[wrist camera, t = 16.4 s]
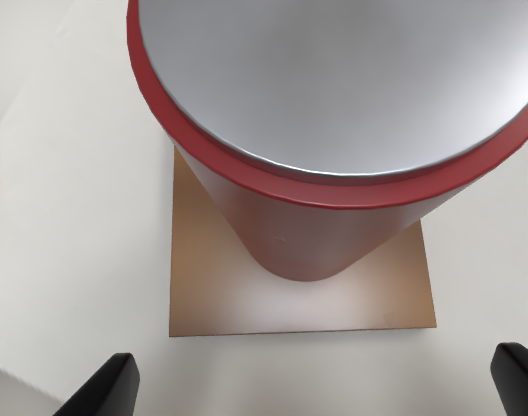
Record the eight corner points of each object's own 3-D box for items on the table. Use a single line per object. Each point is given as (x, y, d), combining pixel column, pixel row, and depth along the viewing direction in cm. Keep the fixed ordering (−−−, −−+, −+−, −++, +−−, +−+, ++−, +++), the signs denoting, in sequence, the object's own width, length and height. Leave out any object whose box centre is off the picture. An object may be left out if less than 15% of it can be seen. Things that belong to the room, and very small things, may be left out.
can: (386, 267, 17) (694, 140, 4) (250, 293, 17) (138, 252, 4) (351, 142, 19) (492, -219, 6) (228, 167, 19) (100, -137, 6)
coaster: (430, 326, 17) (437, 327, 16) (173, 335, 18) (168, 337, 17) (396, 96, 20) (400, 87, 19) (179, 110, 21) (175, 103, 20)
